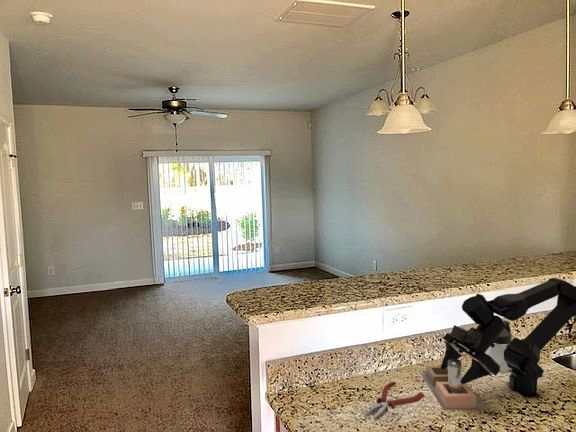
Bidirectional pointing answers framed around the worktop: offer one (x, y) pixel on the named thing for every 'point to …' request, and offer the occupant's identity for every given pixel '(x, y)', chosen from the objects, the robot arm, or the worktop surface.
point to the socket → (455, 396)
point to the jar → (500, 349)
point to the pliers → (391, 402)
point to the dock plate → (441, 375)
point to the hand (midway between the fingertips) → (451, 375)
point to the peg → (454, 376)
